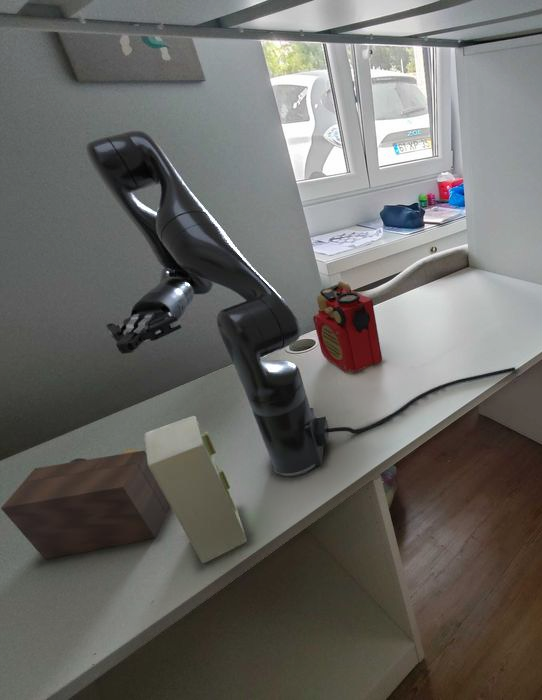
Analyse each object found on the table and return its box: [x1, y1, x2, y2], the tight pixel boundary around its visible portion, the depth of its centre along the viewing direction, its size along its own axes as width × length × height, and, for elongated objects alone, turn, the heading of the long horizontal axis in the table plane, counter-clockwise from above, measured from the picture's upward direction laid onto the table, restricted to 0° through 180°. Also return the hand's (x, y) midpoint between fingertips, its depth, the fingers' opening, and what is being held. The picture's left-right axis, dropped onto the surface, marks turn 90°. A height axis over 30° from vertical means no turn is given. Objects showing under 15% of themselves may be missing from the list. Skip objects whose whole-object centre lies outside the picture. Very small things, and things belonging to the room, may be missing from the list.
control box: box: [0, 449, 171, 560], centre depth 72 cm, size 16×11×12 cm
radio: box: [312, 280, 383, 372], centre depth 112 cm, size 16×10×20 cm, turn 45°
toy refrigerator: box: [143, 415, 248, 564], centre depth 67 cm, size 8×7×21 cm
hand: (124, 348), depth 78 cm, fingers closed
